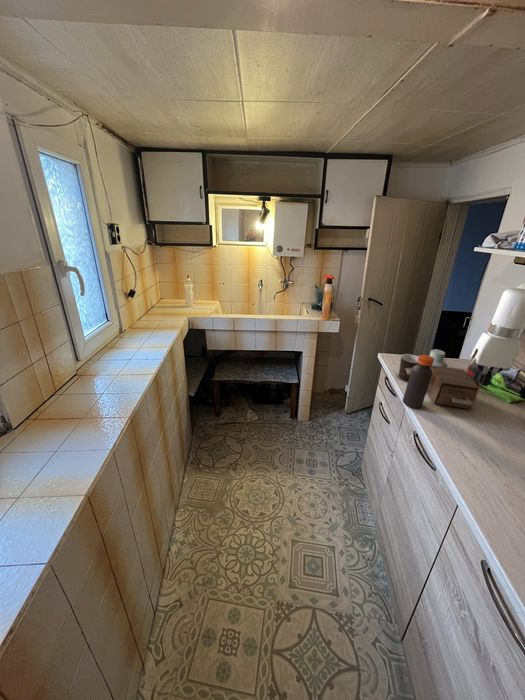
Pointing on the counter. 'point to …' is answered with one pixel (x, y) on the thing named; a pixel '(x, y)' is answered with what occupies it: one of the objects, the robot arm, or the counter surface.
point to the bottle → (418, 382)
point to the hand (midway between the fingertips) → (481, 384)
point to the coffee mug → (407, 366)
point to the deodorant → (473, 373)
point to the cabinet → (448, 381)
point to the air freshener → (438, 358)
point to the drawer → (457, 396)
